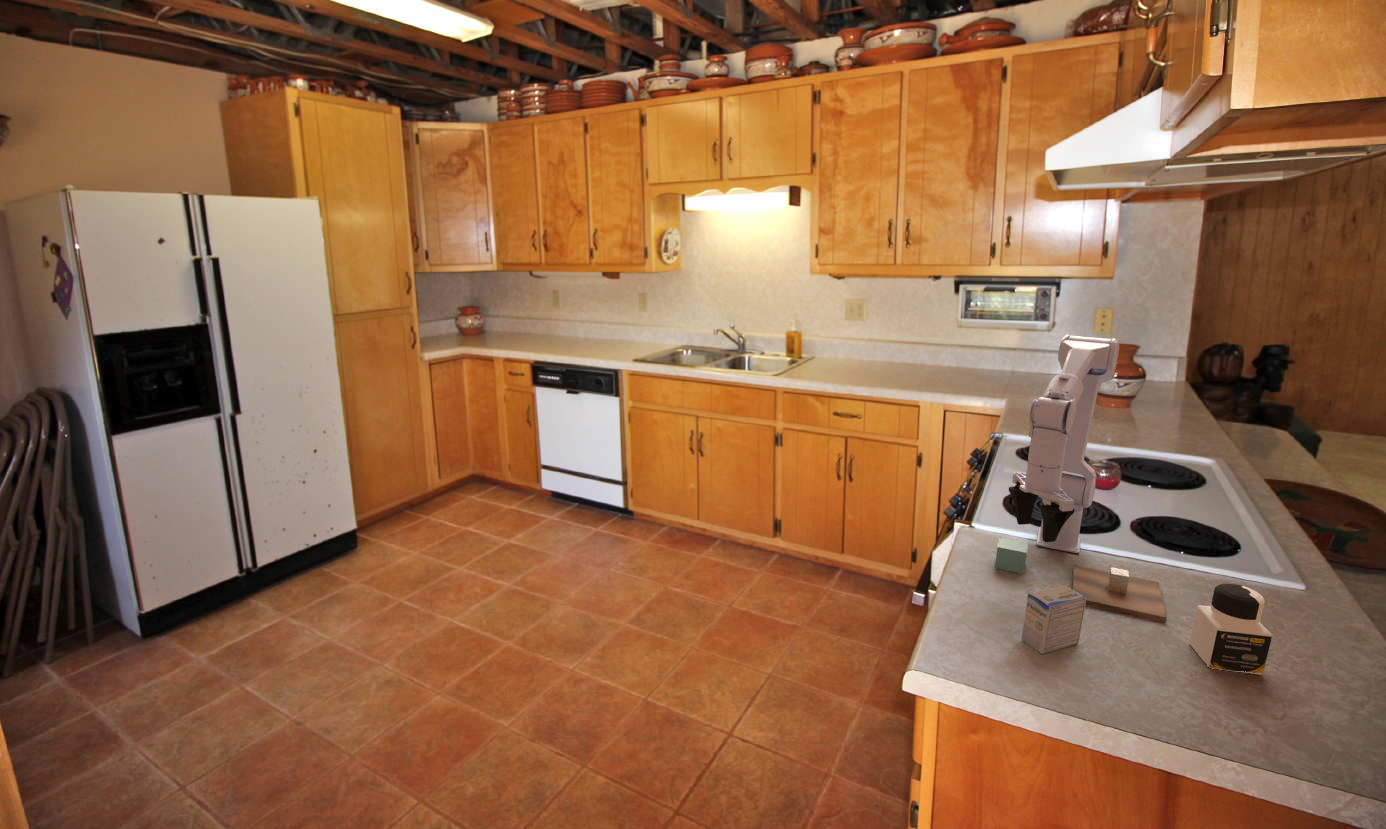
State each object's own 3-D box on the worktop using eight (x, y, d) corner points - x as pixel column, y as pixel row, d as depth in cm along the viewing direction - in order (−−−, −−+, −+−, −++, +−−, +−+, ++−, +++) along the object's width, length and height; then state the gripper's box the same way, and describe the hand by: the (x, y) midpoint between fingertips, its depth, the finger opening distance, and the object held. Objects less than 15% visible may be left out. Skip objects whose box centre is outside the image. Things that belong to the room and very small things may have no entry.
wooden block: (1107, 584, 128) (1110, 567, 127) (1125, 587, 127) (1128, 570, 126) (1108, 590, 125) (1111, 573, 125) (1126, 594, 124) (1129, 576, 123)
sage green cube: (997, 557, 141) (1000, 536, 139) (1025, 563, 138) (1028, 542, 137) (994, 567, 136) (997, 546, 135) (1023, 573, 134) (1026, 552, 133)
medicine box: (1056, 630, 115) (1063, 583, 113) (1079, 645, 111) (1087, 596, 109) (1020, 640, 112) (1026, 592, 110) (1042, 655, 108) (1050, 606, 106)
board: (1073, 569, 135) (1073, 565, 135) (1157, 586, 129) (1158, 581, 129) (1072, 601, 124) (1072, 597, 123) (1165, 622, 117) (1166, 617, 117)
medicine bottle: (1208, 669, 104) (1224, 598, 101) (1188, 643, 111) (1202, 576, 108) (1263, 676, 103) (1281, 604, 100) (1239, 649, 110) (1255, 581, 106)
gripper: (1001, 451, 131) (993, 517, 135) (1051, 478, 117) (1041, 551, 121) (1035, 449, 132) (1026, 515, 136) (1088, 475, 118) (1077, 548, 122)
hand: (1035, 532), depth 128 cm, fingers open, 7 cm apart
